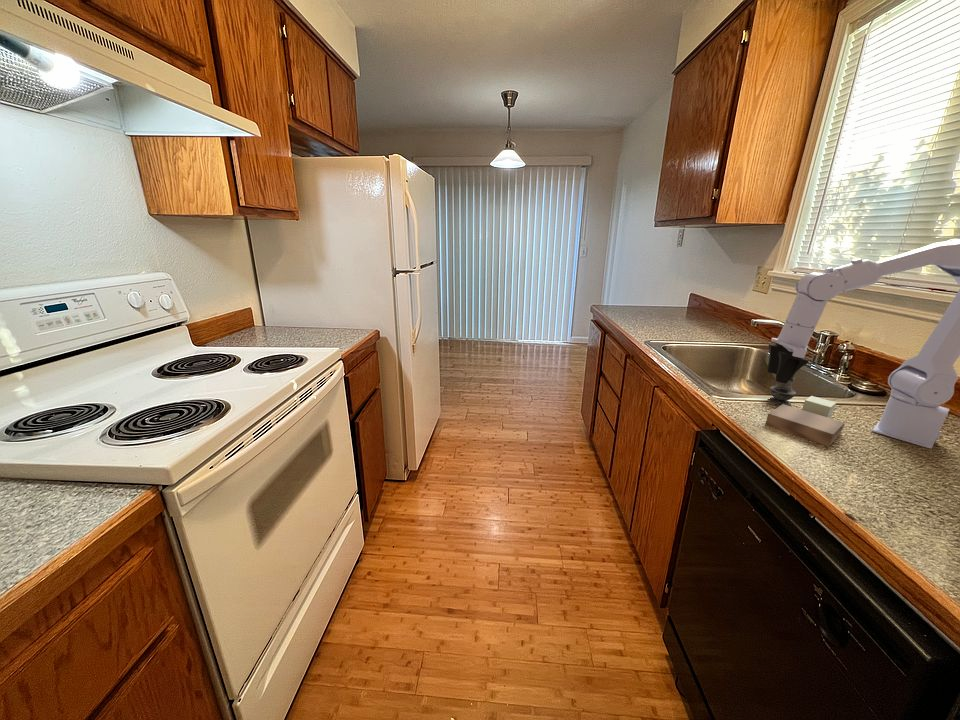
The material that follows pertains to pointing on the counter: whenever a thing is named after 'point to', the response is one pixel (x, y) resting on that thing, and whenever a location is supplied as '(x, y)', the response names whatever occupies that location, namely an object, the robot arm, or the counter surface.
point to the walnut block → (805, 424)
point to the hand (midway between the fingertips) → (776, 377)
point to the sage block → (819, 406)
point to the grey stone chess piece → (782, 393)
